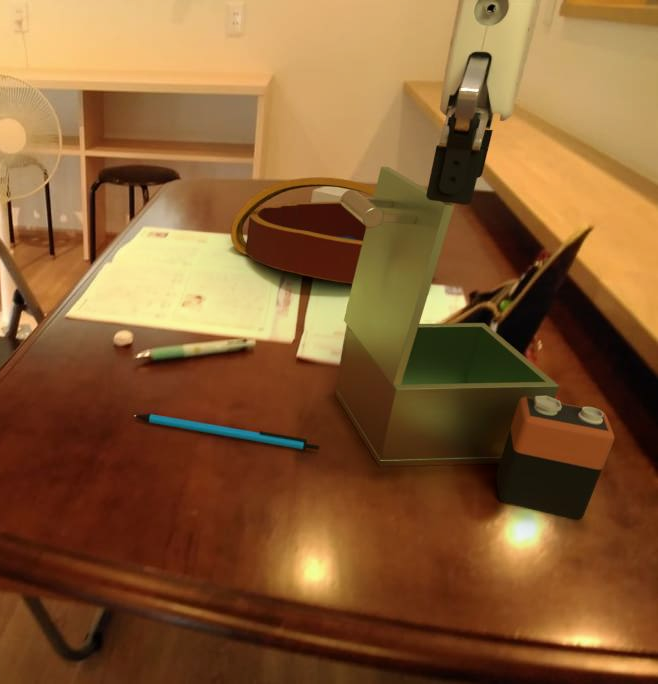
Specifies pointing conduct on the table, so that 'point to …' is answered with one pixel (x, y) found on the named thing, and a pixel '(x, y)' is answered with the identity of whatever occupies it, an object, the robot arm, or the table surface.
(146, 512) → the table surface
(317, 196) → the white cube
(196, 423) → the pen
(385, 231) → the bin lid
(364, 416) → the bin
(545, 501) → the battery
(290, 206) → the decorative basket
